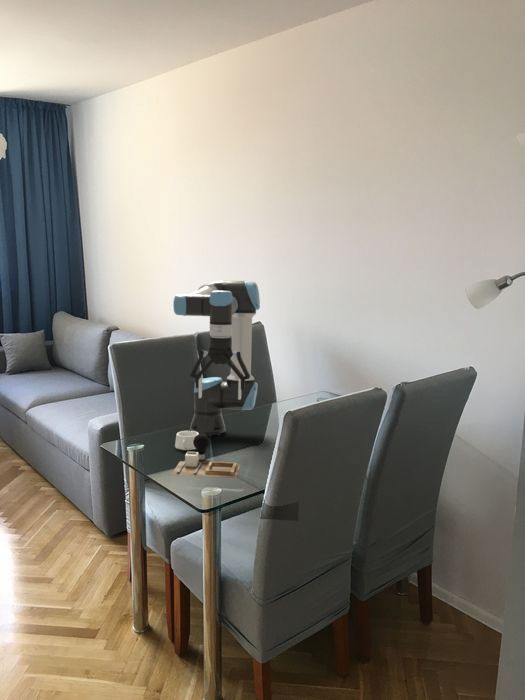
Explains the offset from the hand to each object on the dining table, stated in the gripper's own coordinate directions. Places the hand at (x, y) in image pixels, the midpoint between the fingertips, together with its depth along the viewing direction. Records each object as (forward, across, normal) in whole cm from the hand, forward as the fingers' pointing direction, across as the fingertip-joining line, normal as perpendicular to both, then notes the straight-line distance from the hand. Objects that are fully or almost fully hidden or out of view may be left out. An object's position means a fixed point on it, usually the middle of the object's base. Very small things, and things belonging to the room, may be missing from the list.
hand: (219, 398), depth 204 cm
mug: (+26, -16, +23) cm, 38 cm away
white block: (+25, -10, +2) cm, 27 cm away
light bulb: (+26, -8, +10) cm, 29 cm away
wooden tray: (+26, -4, -1) cm, 26 cm away
